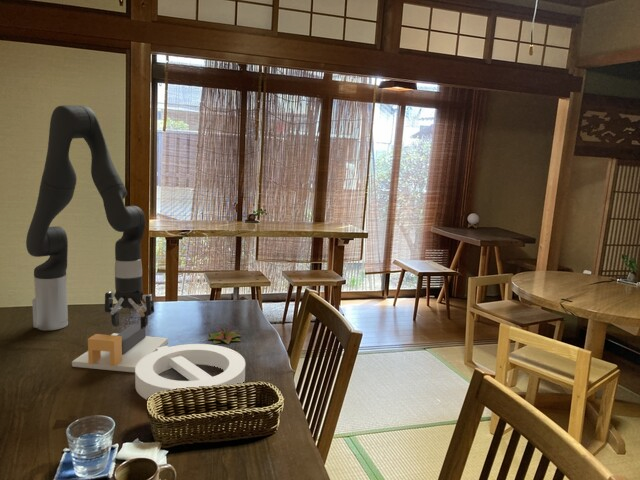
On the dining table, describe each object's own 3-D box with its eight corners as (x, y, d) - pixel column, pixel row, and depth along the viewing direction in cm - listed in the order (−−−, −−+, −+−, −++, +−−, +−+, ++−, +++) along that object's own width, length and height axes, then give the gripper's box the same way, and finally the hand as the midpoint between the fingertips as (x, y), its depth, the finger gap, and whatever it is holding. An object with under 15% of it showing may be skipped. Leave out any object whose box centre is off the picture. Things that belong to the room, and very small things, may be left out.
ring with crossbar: (158, 356, 144) (158, 341, 143) (252, 362, 144) (253, 347, 143) (116, 403, 117) (116, 385, 116) (233, 411, 116) (233, 392, 115)
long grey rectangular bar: (110, 353, 140) (109, 340, 139) (133, 336, 154) (133, 324, 153) (123, 354, 140) (123, 341, 139) (145, 337, 153) (145, 325, 153)
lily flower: (246, 344, 157) (247, 330, 156) (209, 348, 153) (209, 334, 152) (238, 331, 168) (238, 318, 167) (203, 334, 163) (203, 321, 163)
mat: (72, 366, 134) (72, 361, 134) (113, 337, 156) (113, 333, 155) (135, 372, 132) (135, 367, 132) (168, 342, 154) (168, 338, 154)
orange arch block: (88, 363, 132) (87, 339, 131) (96, 357, 136) (96, 333, 135) (114, 366, 132) (114, 341, 130) (122, 360, 136) (121, 336, 134)
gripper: (98, 275, 141) (100, 329, 143) (146, 278, 139) (147, 333, 142) (112, 269, 148) (113, 321, 151) (157, 272, 147) (158, 324, 149)
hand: (129, 326), depth 146 cm, fingers open, 8 cm apart
